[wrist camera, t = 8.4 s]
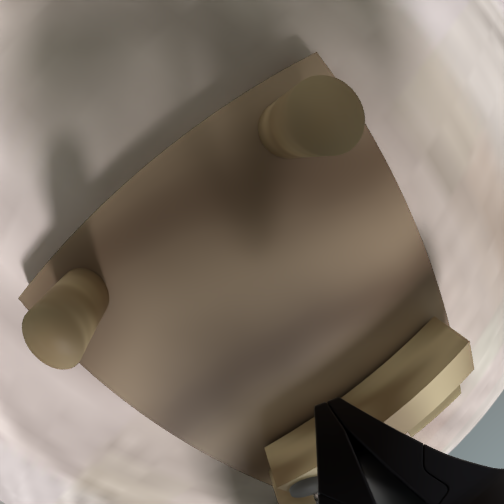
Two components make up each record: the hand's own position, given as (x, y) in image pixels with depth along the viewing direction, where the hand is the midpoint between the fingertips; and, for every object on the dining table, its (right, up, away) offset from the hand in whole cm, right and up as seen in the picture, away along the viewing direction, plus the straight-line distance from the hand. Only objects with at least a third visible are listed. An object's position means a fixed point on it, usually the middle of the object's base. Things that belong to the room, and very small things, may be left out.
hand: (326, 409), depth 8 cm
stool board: (-1, +1, +6) cm, 6 cm away
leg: (+4, -4, +6) cm, 8 cm away
